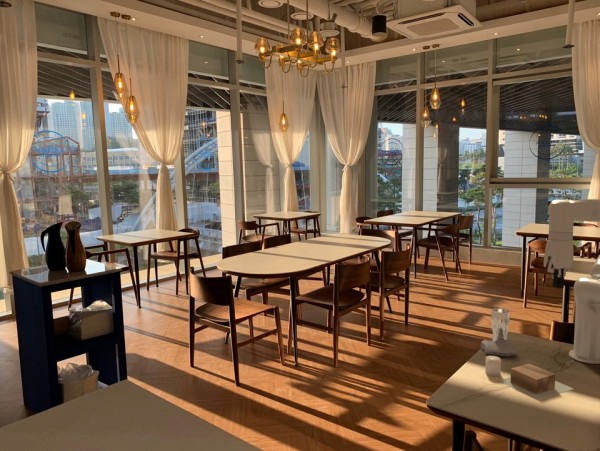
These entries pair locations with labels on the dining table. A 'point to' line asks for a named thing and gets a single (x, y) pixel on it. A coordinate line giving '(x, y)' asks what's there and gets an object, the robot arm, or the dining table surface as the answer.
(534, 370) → the block
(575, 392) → the dining table surface
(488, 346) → the stone block
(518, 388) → the mat
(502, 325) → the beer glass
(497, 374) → the white rounded cylinder
